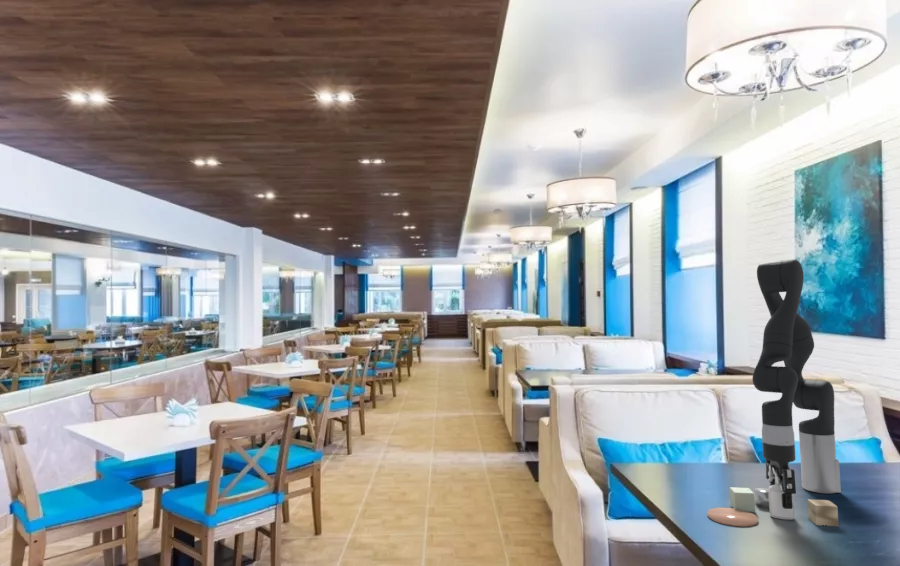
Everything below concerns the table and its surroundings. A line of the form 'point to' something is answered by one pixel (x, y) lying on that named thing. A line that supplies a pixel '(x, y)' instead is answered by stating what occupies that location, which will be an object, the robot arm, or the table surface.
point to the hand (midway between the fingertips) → (781, 503)
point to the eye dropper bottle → (779, 504)
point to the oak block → (823, 512)
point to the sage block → (742, 499)
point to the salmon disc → (732, 517)
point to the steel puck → (762, 497)
